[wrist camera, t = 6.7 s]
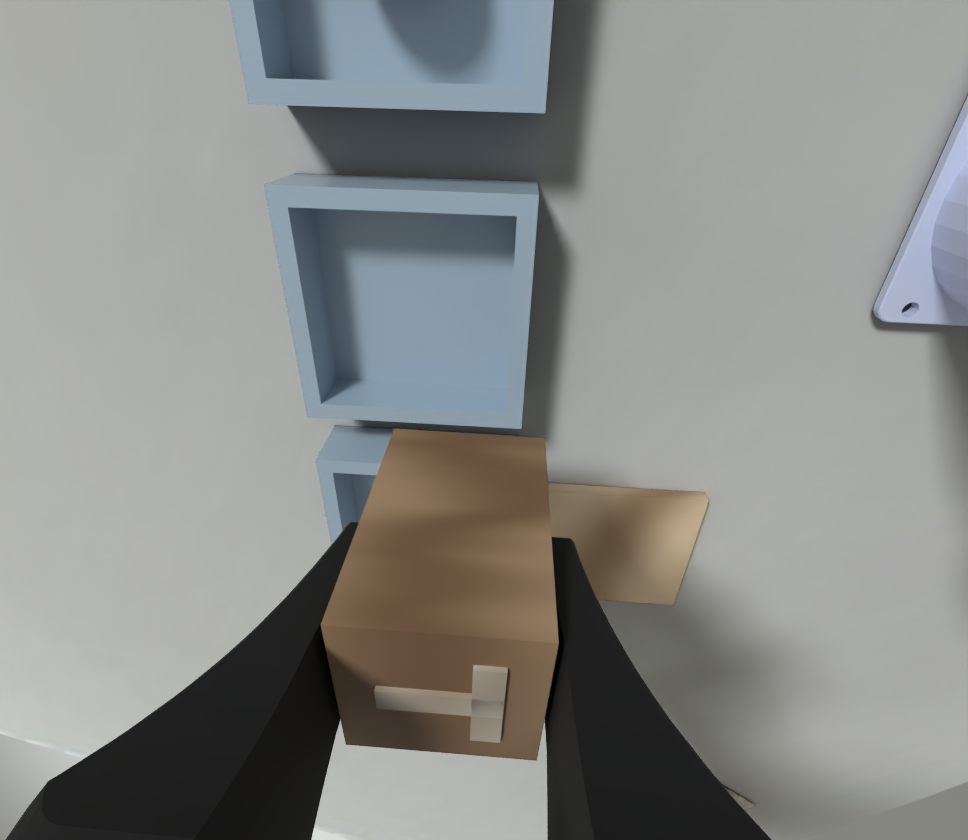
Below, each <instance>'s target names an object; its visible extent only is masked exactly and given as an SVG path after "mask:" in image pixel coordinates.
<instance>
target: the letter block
mask: <svg viewBox="0 0 968 840" xmlns="http://www.w3.org/2000/svg"><path fill="white" fill-rule="evenodd" d="M321 629H322V634H323V639H324V643H325V648H326V653H327V658H328V662H329V667H330V672H331V676H332V681H333V686H334V690H335V695H336V700H337V704H338V709H339V714H340V719H341V723H342V728H343V733H344V737H345V742H346V744H347V745H359V746H371V747H382V748H394V749H406V750H418V751H430V752H442V753H454V754H466V755H478V756H490V757H502V758H514V759H526V760H537V756H538V751H539V745H540V740H541V735H542V729H543V724H544V719H545V714H546V708H547V703H548V698H549V692H550V687H551V682H552V676H553V671H554V666H555V661H556V655H557V650H558V645H559V639H558V624H557V610H556V595H555V580H554V566H553V551H552V536H551V522H550V507H549V492H548V477H547V463H546V448H545V438H534V437H519V436H503V435H488V434H472V433H457V432H441V431H426V430H410V429H395V428H394V430H393V433H392V436H391V438H390V441H389V444H388V446H387V449H386V452H385V454H384V457H383V460H382V462H381V465H380V468H379V470H378V473H377V476H376V478H375V481H374V484H373V486H372V489H371V492H370V494H369V497H368V500H367V502H366V505H365V508H364V510H363V513H362V516H361V518H360V521H359V524H358V526H357V529H356V532H355V534H354V537H353V540H352V542H351V545H350V548H349V550H348V553H347V556H346V558H345V561H344V564H343V566H342V569H341V572H340V574H339V577H338V580H337V582H336V585H335V588H334V590H333V593H332V596H331V598H330V601H329V604H328V606H327V609H326V612H325V614H324V617H323V620H322V622H321Z"/></svg>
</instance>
